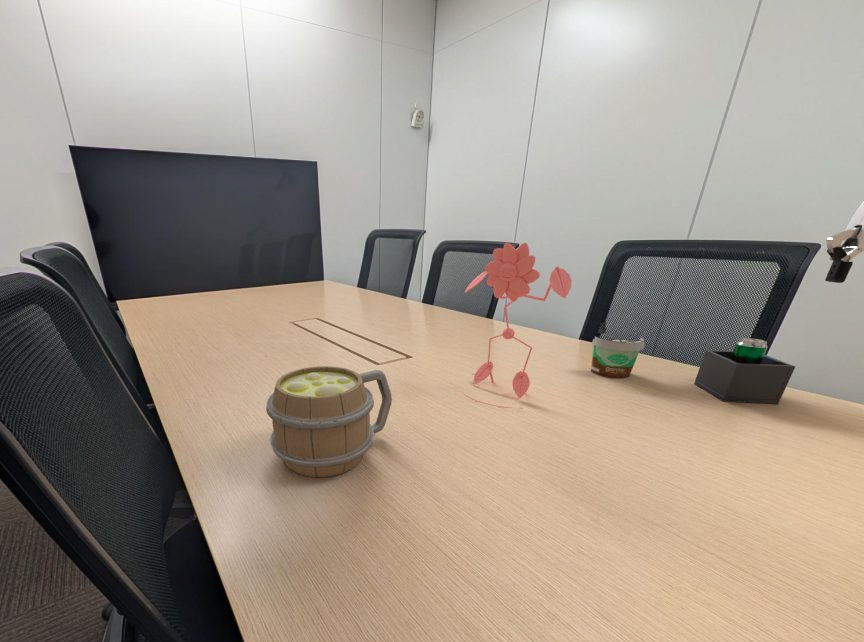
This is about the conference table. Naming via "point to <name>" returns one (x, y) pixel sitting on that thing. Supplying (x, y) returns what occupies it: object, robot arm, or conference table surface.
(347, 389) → the mug
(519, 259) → the figurine
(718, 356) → the trash bin
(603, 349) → the food container
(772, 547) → the conference table surface
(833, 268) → the robot arm
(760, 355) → the soda can
